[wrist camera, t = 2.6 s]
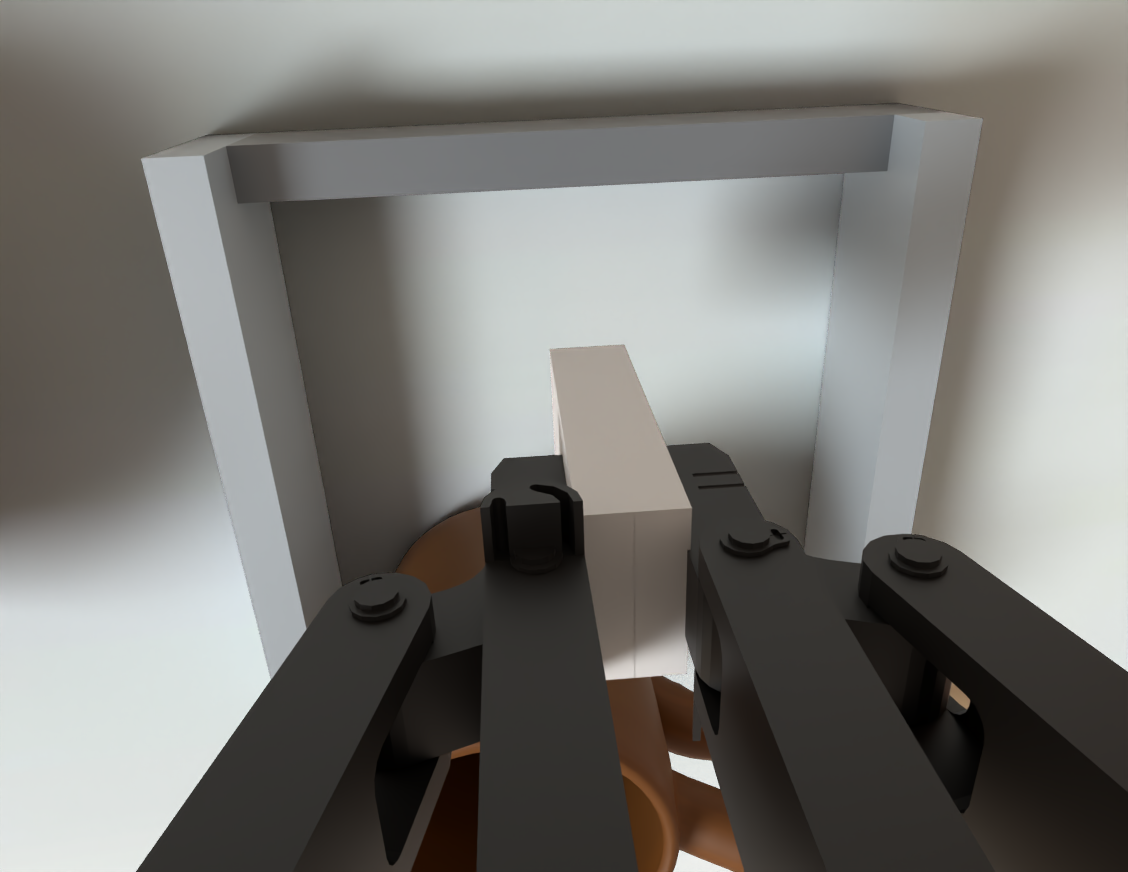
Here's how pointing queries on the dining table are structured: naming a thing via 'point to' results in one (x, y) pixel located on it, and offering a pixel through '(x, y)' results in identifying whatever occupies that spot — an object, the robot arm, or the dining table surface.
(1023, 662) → the robot arm
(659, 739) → the mug
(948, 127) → the u-shaped frame
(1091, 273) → the dining table surface
